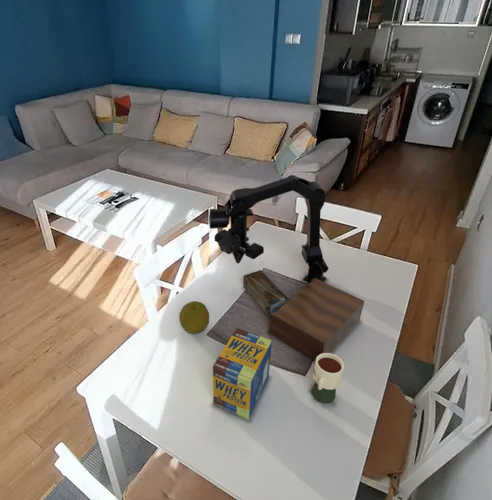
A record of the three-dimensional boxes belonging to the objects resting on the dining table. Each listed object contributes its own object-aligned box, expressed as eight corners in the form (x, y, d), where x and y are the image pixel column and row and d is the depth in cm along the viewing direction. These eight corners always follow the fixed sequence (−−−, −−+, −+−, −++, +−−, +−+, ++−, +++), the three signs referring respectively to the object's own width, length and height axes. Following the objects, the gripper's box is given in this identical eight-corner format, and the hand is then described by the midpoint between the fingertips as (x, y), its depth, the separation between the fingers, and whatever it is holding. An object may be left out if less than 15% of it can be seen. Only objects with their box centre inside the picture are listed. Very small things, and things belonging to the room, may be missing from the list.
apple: (187, 315, 133) (185, 291, 127) (213, 322, 130) (213, 297, 124) (175, 335, 125) (173, 310, 119) (203, 342, 122) (202, 317, 116)
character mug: (318, 375, 110) (324, 344, 103) (342, 387, 107) (351, 355, 100) (302, 402, 103) (308, 370, 96) (327, 416, 99) (335, 384, 92)
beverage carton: (269, 319, 130) (270, 304, 127) (241, 287, 145) (242, 273, 142) (288, 312, 133) (290, 297, 129) (260, 282, 148) (260, 268, 144)
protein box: (212, 405, 103) (211, 366, 95) (236, 364, 114) (236, 326, 106) (249, 421, 99) (251, 382, 90) (269, 377, 110) (273, 338, 102)
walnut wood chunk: (309, 296, 140) (312, 276, 135) (359, 321, 128) (364, 300, 124) (268, 332, 125) (270, 312, 120) (320, 364, 114) (324, 343, 109)
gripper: (203, 225, 134) (204, 262, 142) (244, 244, 122) (243, 283, 131) (224, 214, 140) (224, 250, 149) (265, 231, 129) (263, 269, 137)
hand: (238, 262), depth 141 cm, fingers closed
